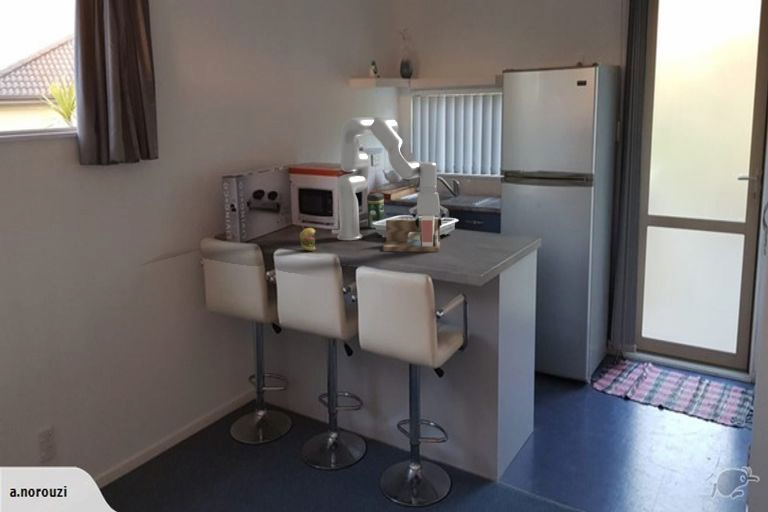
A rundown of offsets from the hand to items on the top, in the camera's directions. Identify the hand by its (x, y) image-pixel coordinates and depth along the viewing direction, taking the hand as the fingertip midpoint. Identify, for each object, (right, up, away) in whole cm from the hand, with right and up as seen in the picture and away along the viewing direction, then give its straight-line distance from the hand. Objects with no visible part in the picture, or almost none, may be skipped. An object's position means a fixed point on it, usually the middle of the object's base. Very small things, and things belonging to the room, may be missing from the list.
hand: (428, 227), depth 294 cm
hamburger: (-55, -11, +3) cm, 56 cm away
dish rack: (-4, -3, +31) cm, 32 cm away
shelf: (-7, -9, +4) cm, 12 cm away
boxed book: (0, -8, +2) cm, 8 cm away
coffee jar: (-24, +2, +54) cm, 59 cm away
